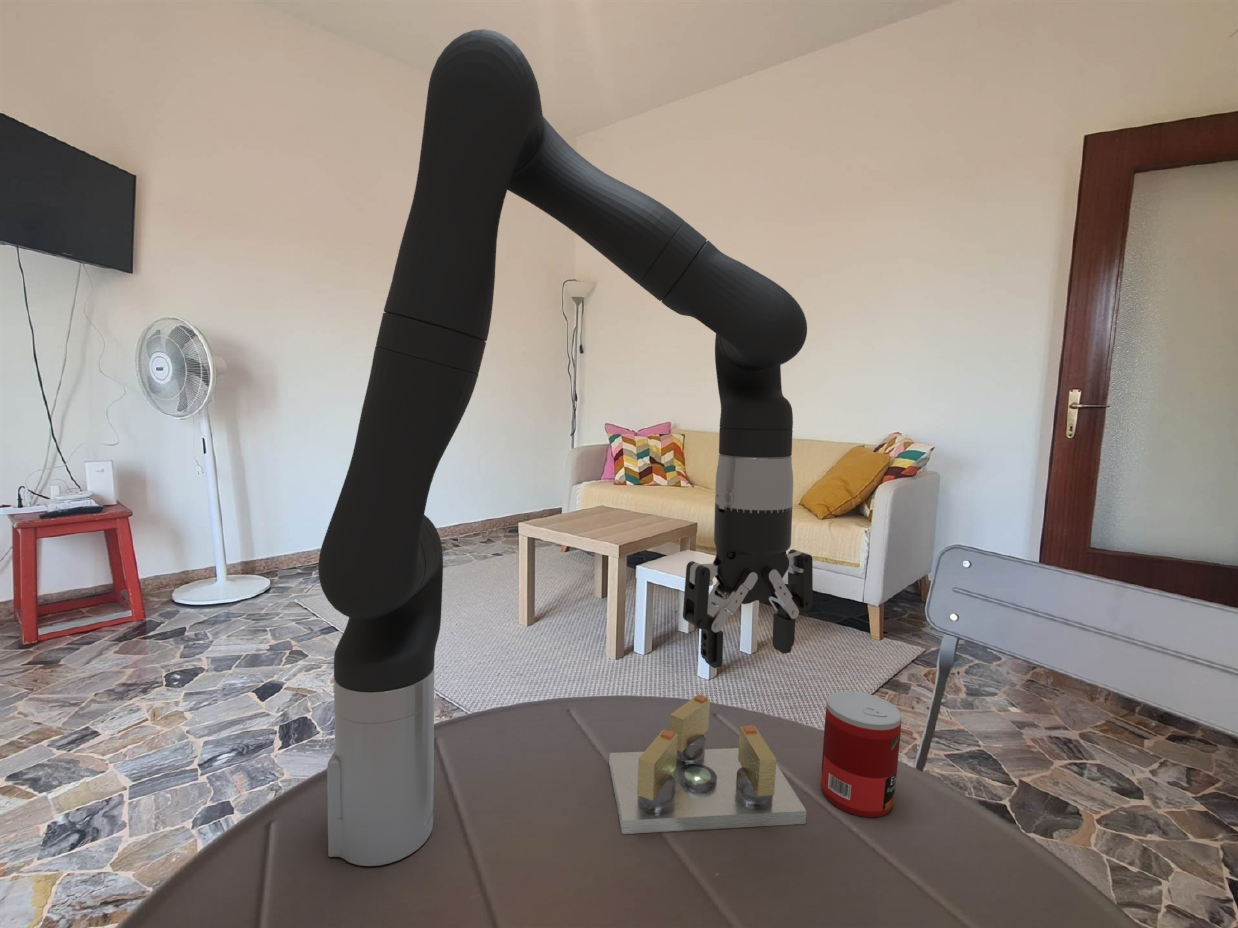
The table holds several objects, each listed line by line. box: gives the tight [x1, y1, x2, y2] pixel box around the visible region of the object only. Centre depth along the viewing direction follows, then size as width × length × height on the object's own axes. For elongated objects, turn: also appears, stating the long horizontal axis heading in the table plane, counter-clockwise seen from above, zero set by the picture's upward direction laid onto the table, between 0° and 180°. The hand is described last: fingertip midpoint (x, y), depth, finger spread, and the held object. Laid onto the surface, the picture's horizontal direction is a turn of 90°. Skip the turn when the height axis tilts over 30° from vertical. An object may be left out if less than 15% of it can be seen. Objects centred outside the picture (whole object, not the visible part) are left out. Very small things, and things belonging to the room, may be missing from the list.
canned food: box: [820, 690, 902, 818], centre depth 69 cm, size 8×8×11 cm
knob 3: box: [735, 724, 777, 810], centre depth 66 cm, size 6×4×7 cm, turn 7°
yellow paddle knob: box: [668, 694, 711, 766], centre depth 73 cm, size 6×4×7 cm, turn 142°
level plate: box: [608, 747, 807, 835], centre depth 69 cm, size 20×12×2 cm, turn 97°
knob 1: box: [637, 728, 678, 815], centre depth 65 cm, size 6×4×7 cm, turn 153°
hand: (748, 657), depth 61 cm, fingers open, 8 cm apart
